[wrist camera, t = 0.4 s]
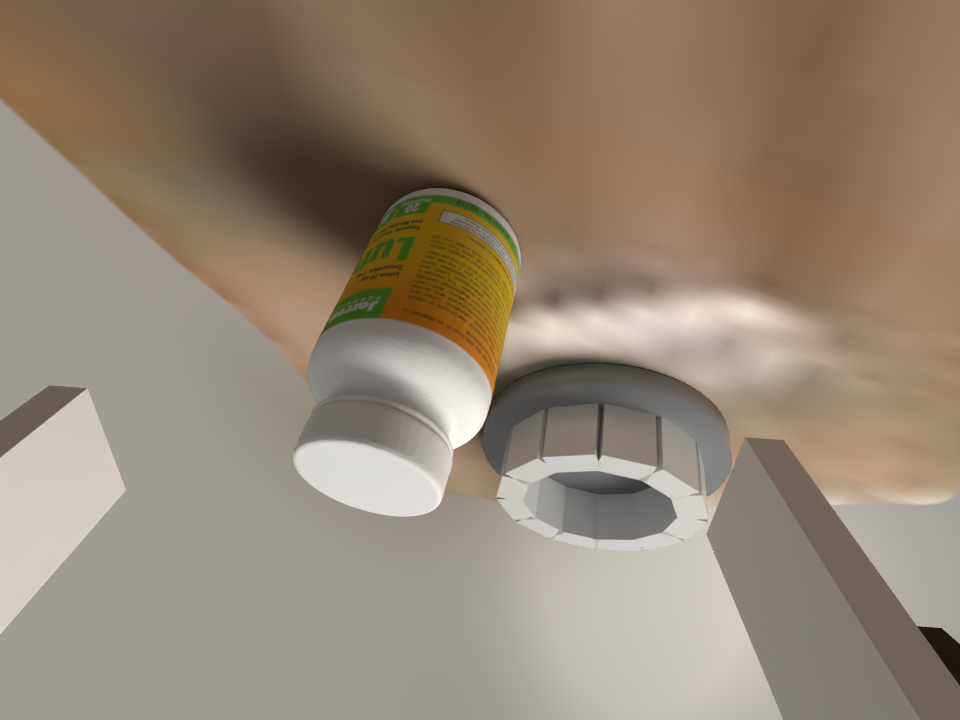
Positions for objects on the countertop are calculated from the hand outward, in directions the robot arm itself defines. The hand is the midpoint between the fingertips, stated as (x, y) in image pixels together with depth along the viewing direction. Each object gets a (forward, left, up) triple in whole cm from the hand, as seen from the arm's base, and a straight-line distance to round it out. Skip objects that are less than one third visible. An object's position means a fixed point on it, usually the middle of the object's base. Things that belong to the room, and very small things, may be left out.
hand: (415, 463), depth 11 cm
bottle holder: (+17, +8, -13) cm, 23 cm away
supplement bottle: (+5, -2, -13) cm, 14 cm away
